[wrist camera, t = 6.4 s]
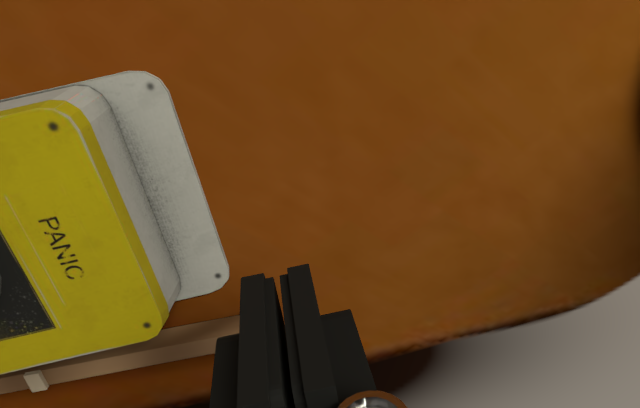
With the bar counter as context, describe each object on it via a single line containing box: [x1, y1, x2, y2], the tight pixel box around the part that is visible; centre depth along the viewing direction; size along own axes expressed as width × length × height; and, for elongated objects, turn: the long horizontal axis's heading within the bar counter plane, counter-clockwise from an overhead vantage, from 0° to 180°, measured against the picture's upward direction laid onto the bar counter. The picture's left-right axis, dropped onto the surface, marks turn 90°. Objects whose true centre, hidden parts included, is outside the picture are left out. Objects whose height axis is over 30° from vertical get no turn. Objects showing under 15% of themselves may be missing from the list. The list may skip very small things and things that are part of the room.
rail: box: [0, 315, 240, 394], centre depth 19 cm, size 20×1×1 cm, turn 99°
